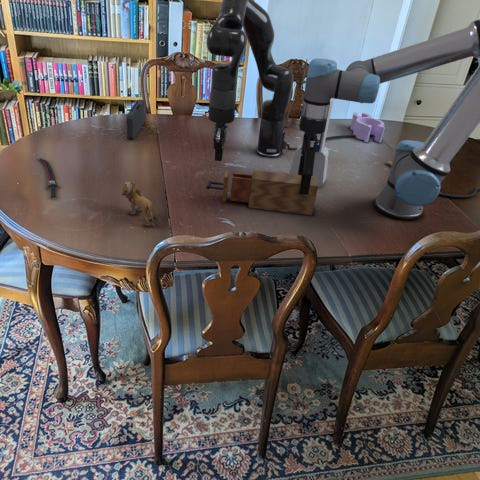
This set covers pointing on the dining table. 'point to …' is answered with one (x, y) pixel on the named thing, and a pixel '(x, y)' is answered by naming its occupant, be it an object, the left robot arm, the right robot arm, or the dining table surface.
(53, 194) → the sword
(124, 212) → the dining table surface
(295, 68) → the miniature windmill
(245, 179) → the drawer
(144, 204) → the lion figurine
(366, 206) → the dining table surface
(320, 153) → the electronic device
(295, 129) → the dining table surface
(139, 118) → the handheld gaming console
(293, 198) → the cabinet
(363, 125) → the clip
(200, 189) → the dining table surface
